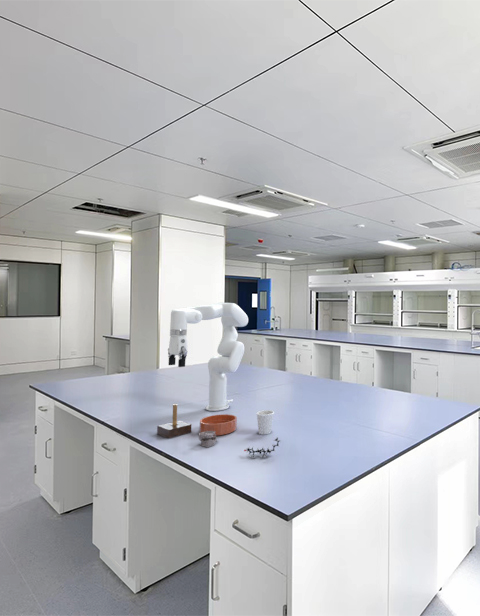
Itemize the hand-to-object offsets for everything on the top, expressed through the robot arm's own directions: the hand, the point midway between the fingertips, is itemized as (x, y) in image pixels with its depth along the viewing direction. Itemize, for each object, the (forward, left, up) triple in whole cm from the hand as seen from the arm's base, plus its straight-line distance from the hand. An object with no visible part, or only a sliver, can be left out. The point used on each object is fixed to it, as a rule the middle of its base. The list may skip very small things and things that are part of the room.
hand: (176, 365), depth 195 cm
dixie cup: (-19, +47, -31) cm, 59 cm away
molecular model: (+1, +70, -31) cm, 77 cm away
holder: (+7, +13, -31) cm, 34 cm away
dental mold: (+6, +39, -31) cm, 50 cm away
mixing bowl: (-7, +27, -31) cm, 41 cm away
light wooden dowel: (+7, +13, -31) cm, 34 cm away
